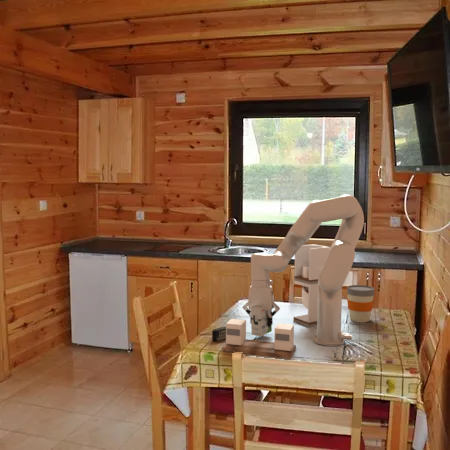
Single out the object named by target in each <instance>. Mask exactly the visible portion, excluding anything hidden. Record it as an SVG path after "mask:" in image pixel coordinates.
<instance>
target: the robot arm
mask: <svg viewBox="0 0 450 450" xmlns="http://www.w3.org/2000/svg"><path fill="white" fill-rule="evenodd" d="M364 217H365V216H364V211H363V209H362V206H361V204H360V203H359V201H358V199H357V198H356V197H355V196H354V195H351V194H348V193H347V194H346V193H345V194H342V195H340V196H337V197H333V198H329V199H328V198H327V199H322V200H321V199H320V200H319V199H314V200H311V201H310V203H308V205H307V206H306V207H305V209H304V210H303V211H302V212H301V214H300V215H299V217H298V218H297V219H296V221H294V223H293V225H292V226H291V227H290V229H289V230H288V232H287V234H286V236H285V237H284V238H283V240H281V242H280V244H279V245H278V247H276V249H275V251H273V253H272V254H268V253H266V252H255V253H253V254H251V256H250V273H251V274H250V275H251V277H250V278H251V281H250V283H251V285H250V286H249V292H248V301H247V302H246V303H245V304H244V305H242V309H243V310H244V311H245V313H246V314H248V315H249V317H250V321H249V322H250V324H251V307H264V311H267V313H268V316H269V317H268V327H271V325H272V326H273V321H274V320H273V316H275V315H277V313H278V312H279V311H280V310H281V308H280V307H279V305H278V304H276V303H275V299H274V290H273V289H274V288H273V286H272V285H274V280H271V278H270V277H271V276H270V272H273V273H282V272H284V271H285V270H286V269H287V268H288V265H289V262H290V261H291V260H292V259H293V257H295V253H296V252H297V251H298V250H299V248H300V247H301V246H303V245H306V243H308V242H309V240H310V239H311V237H312V236H313V235H314V233H315V232H316V231H317V230H318V229H319V227H320V226H321V224H322V223H328V222H333V221H338V220H341V223H340V225H339V228H338V231H337V233H336V235H335V238H334V240H333V241H332V244H331V245H330V246H329V247H330V250H329V256H328V258H327V260H326V263H325V265H324V266H322V267H321V269H320V270H319V273H318V309H317V326H316V334H315V335H314V336H312V341H313V342H314V343H315V344H317V345H321V346H326V347H336V346H342V345H343V344H345V340H348V341H352V340H353V335H352V334H350V333H344V332H343V329H342V309H343V308H342V307H343V306H342V305H343V286H344V284H345V282H346V279H347V278H348V275H349V274H350V271H351V269H352V267H353V263H354V261H355V257H356V251H355V249H356V246H357V245H358V242H359V239H360V237H361V234H362V232H363V228H364V223H365V218H364ZM273 309H274V310H273ZM272 310H273V311H272Z"/></svg>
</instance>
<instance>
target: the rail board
mask: <svg viewBox="0 0 450 450" xmlns="http://www.w3.org/2000/svg"><path fill="white" fill-rule="evenodd" d="M296 349H297V344H294V345H293V347H292V349H291V350H290V351H286V350H277V349H274V342H273V341H266V340H265V341H264V340H255V339H248V338H247V339H246V340H245V341H244V342H243V344H242V345H233V344H226V343H225V344H224V345H223V346H222V351H223V350H228V351H235V352H234V353H236V352H243V353H242V354H245V355H253V356H254V355H256V356H264V357H271V358H272V357H273V358H279V359H280V358H281V359H287V360H288V359H291V358H292V356H293V354H294V352H295V351H296ZM228 351H227V352H228Z"/></svg>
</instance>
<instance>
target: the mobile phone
mask: <svg viewBox="0 0 450 450" xmlns="http://www.w3.org/2000/svg"><path fill="white" fill-rule="evenodd" d="M211 339H212V341H213V342H219V341H218V340H220V341H224V340H226V326H222V327H217V328H214V329H212V330H211Z"/></svg>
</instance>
